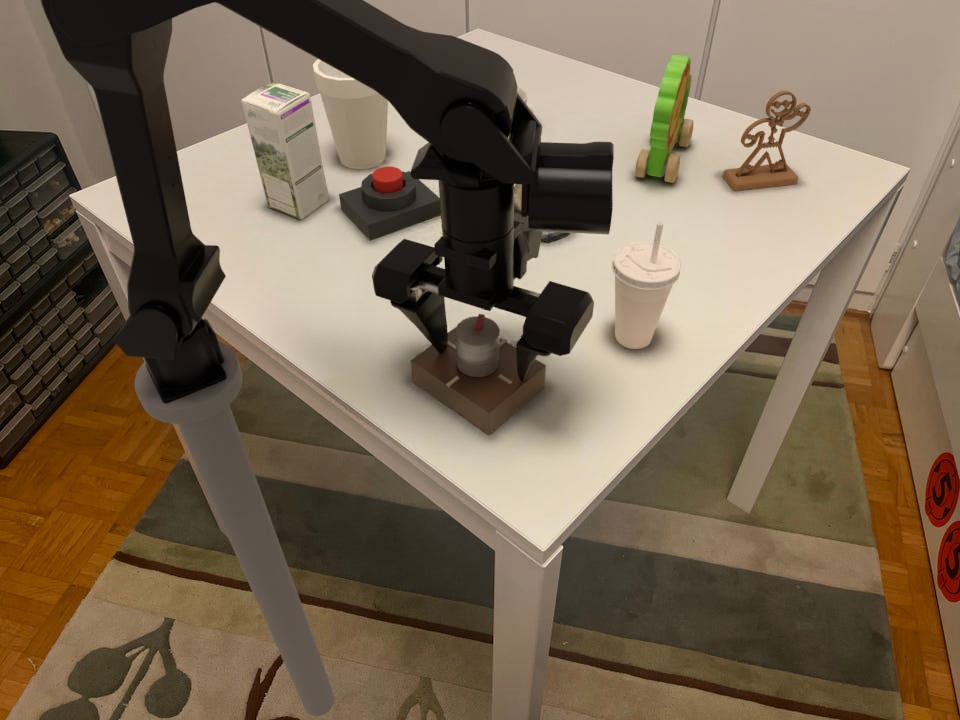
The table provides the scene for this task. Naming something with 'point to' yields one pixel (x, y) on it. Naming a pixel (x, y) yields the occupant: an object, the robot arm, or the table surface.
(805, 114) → the brown wooden figure
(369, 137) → the foam cup
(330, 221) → the table surface
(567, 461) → the table surface
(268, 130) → the syrup box
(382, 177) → the button
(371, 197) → the block
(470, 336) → the heat knob
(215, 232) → the table surface
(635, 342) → the smoothie
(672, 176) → the toy lion
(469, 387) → the panel
